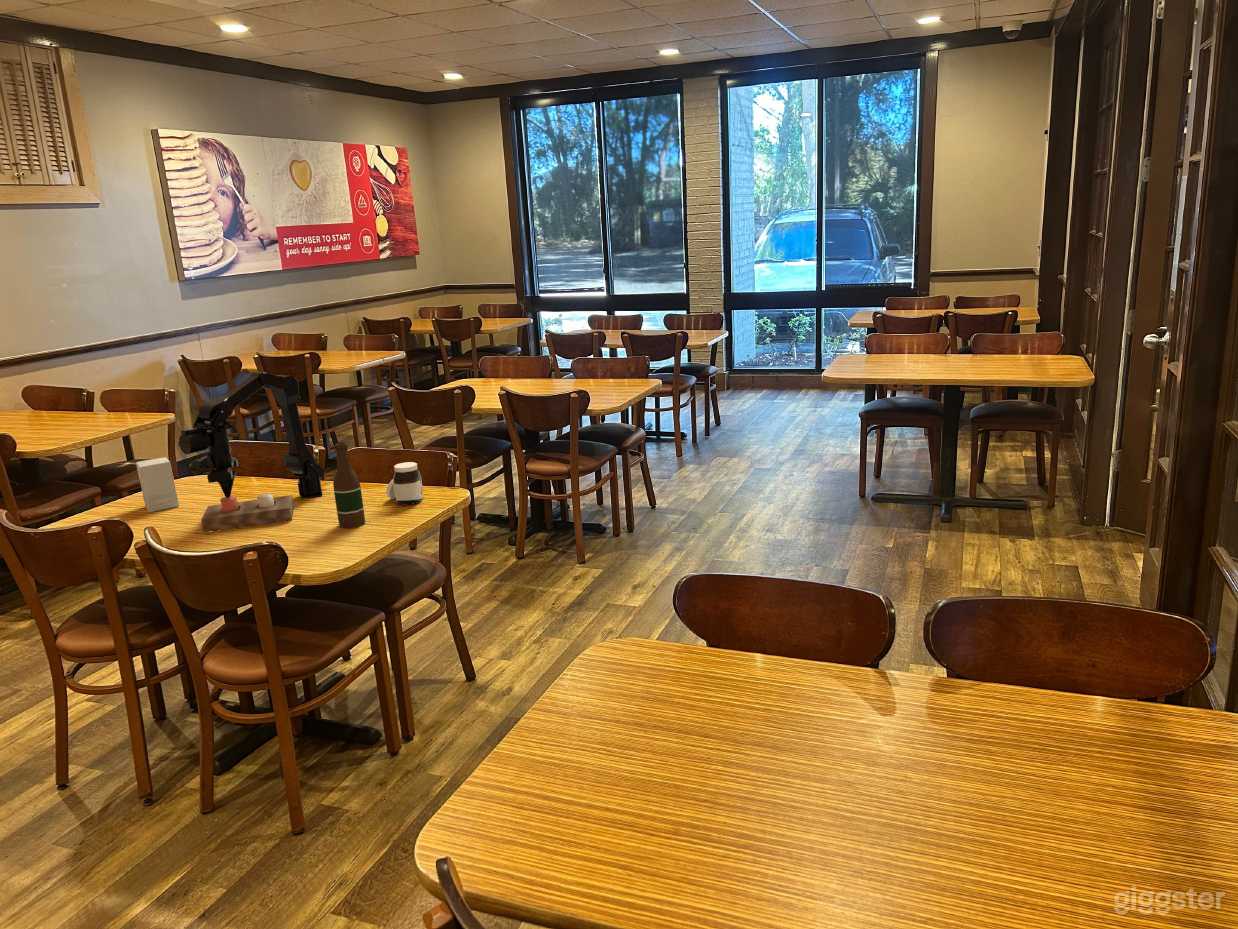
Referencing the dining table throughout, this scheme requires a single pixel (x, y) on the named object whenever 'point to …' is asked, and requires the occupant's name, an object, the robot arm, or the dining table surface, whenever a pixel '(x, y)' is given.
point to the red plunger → (229, 504)
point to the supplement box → (157, 484)
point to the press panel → (248, 514)
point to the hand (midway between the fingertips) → (228, 497)
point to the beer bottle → (347, 491)
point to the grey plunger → (265, 500)
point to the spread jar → (406, 484)
